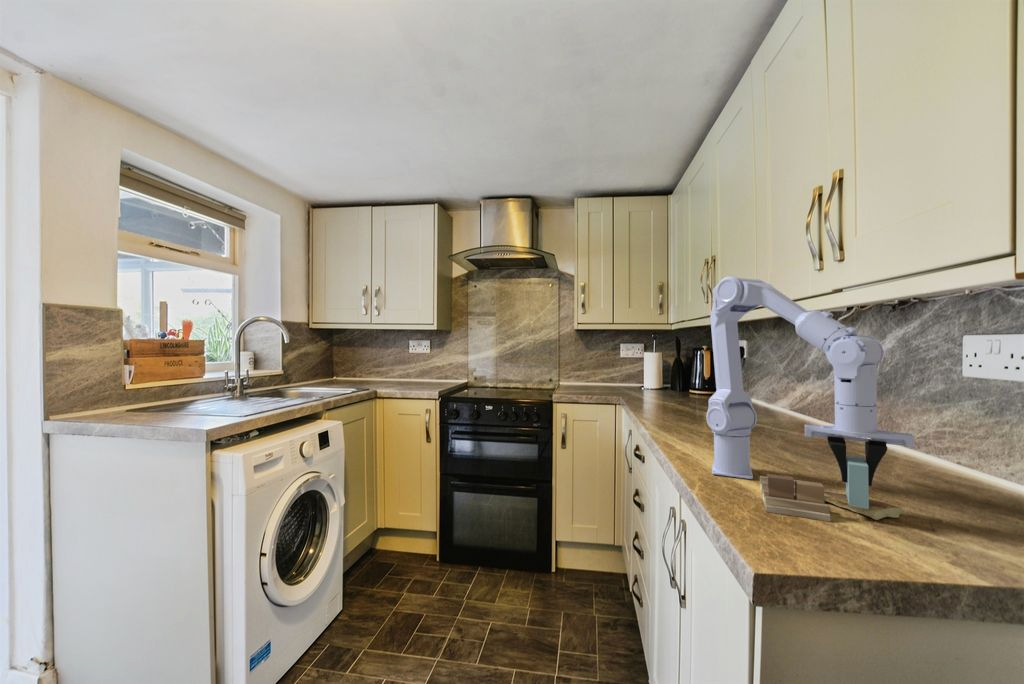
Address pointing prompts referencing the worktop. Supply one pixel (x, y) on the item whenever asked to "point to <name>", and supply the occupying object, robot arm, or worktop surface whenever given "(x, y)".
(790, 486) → the walnut offcut
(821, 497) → the oak offcut
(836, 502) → the shard
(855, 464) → the teal panel
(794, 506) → the birch rack
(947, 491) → the worktop surface
